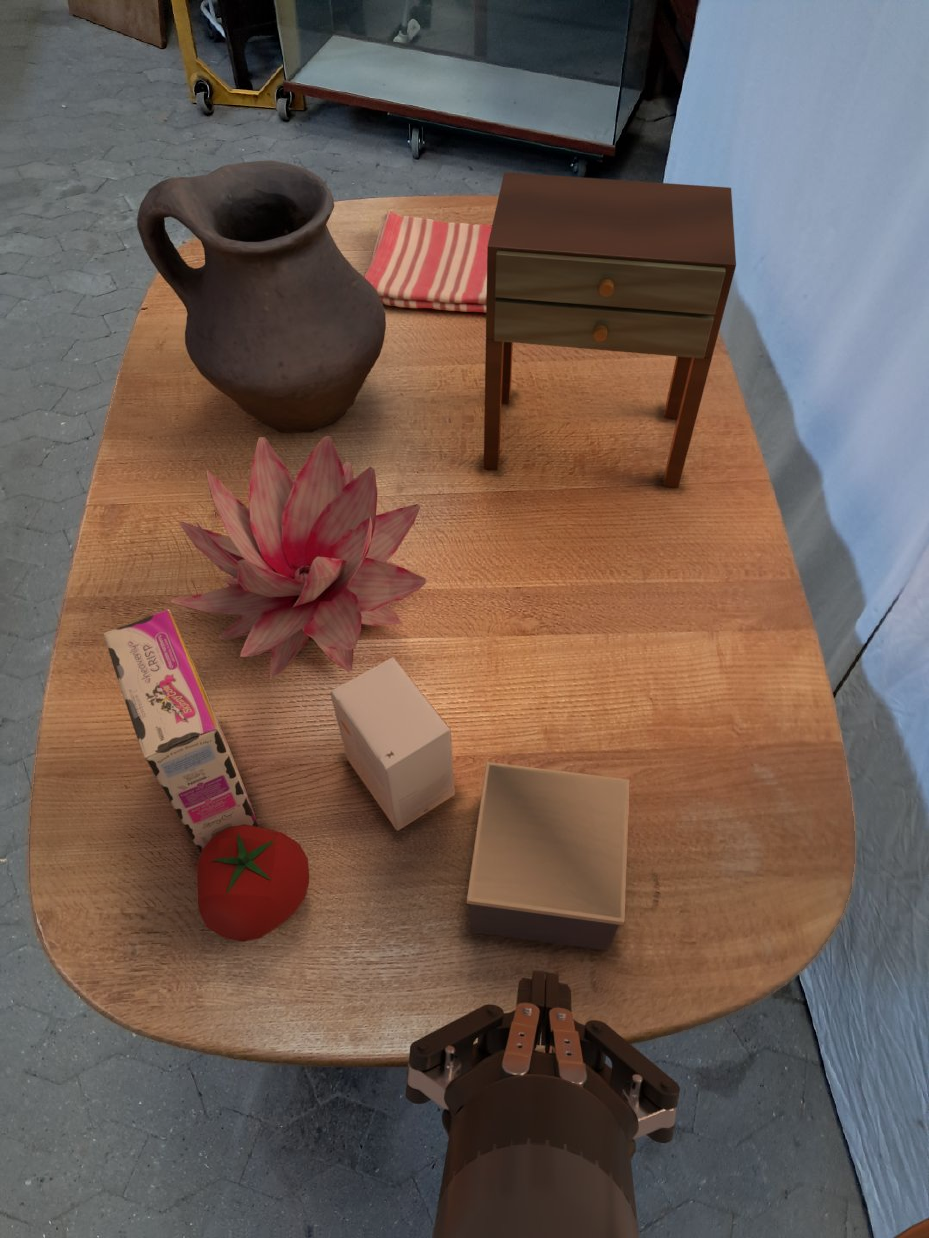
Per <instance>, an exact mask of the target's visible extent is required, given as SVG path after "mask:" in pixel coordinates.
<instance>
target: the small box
mask: <svg viewBox="0 0 929 1238" xmlns="http://www.w3.org/2000/svg"><path fill="white" fill-rule="evenodd" d="M329 693H330V697H331V702H332V706H333V710H334V715H335V718H336V722H337V725H338V730H339V733H340V737H341V741H342V746H343V750H344V752H345V758H346V760H347V761H348V763H349V764H350V765H351V767H352V768H353V770H354V771H355V773H356V774H357V775H358V777H359V778H360V780H361V781H362V783H363V784H364V785H365V787H366V789H367V791H369V793H370V795H371V796H372V797H373V799H374V800H375V801H376V803H377V804H378V806H379V807H380V808H381V810H382V811H383V813H384V815H385V816H386V818H387V819H388V820H389V823H390V824H391V825H392V827H393V828H394V830H395V831H397V832H399V831H400V830H401V829H403V828H405V827H406V826H408V825H409V824H411V823H414V821H416V820H417V819H419V818H421V817H422V816H424V815H426V814H427V813H428V812H430V811H432V810H433V809H435V808H436V807H438V806H440V805H442V804H443V803H444V802H446V801H448V800H449V799H451V798H452V797H454V796H455V794H456V791H455V790H456V789H455V773H454V759H453V743H452V729H451V728H450V726H449V725H448V724H447V722H446V721H445V720H444V719H443V717H442V715H440V714H439V712H438V711H437V710H436V709H435V708H434V706H433V704H432V703H431V702H430V701H429V699H428V698H427V697H426V696H425V694H424V693H423V692H422V690H420V688H419V687H418V686H417V684H416V683H415V682H414V681H413V679H412V677H410V675H409V674H408V673H407V671H405V669H404V668H403V667H402V666H401V664H400V663H399V662H398V660H397V658H396V657H394V656H392V657H390V658H388V659H386V660H385V661H383V662H381V663H379V664H377V665H375V666H374V667H372V668H370V669H368V670H366V671H365V672H363V673H360V674H359V675H357V676H355V677H353V678H351V679H349V680H347V681H346V682H344V683H342V684H340V685H338V686H337V687H335V688H332V689H331V690H330V692H329Z"/></svg>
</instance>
